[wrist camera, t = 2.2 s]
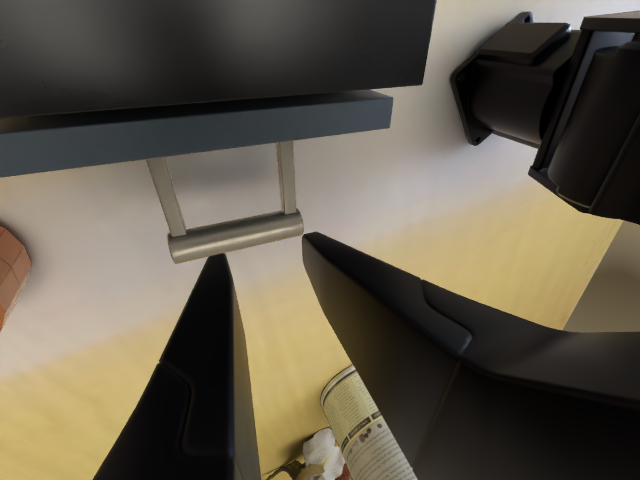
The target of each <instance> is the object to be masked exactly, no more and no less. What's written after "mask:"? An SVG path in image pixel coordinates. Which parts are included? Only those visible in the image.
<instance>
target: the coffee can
mask: <svg viewBox="0 0 640 480" xmlns="http://www.w3.org/2000/svg"><path fill="white" fill-rule="evenodd" d="M320 403H321V406H322V408H323V410H324V412H325V414H326V417H327V419H328V421H329V424H330V426H331V429H332V431H333V434H334V436H335V438H336V441H337V443H338V446H339V448H340V450H341V453H342V455H343V458H344V460H345V462H346V464H347V467H348V469H349V472H350V474H351V477H352V479H353V480H418V479H417V478H416V476H415V474H414V472H413V470H412V469H413V468H411V467H410V465H409V463H408V461H407V459H406V458H405V456H404V454H403V452H402V451H401V449H400V447H399V445H398V444H397V442H396V440H395V438H394V436H393V435H392V433H391V431H390V429H389V428H388V426H387V424H386V422H385V421H384V419H383V417H382V415H381V413H380V412H379V410H378V408H377V406H376V405H375V403H374V401H373V399H372V397H371V396H370V394H369V392H368V390H367V389H366V387H365V385H364V383H363V382H362V380H361V378H360V376H359V374H358V373H357V371H356V369H355V367H354V366H353V365H352V366H350V367H348V368H346V369H345V370H343V371H342V372H340V373H339V374H338V375H337V376H336V377H334V378H333V379H332V380H331V381H330V382H329V384H328V385H327V386H326V388H325V389H324V391H323V393H322V395H321V400H320Z"/></svg>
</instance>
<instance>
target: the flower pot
mask: <svg viewBox="0 0 640 480" xmlns="http://www.w3.org/2000/svg"><path fill="white" fill-rule="evenodd" d="M30 269H31V262H30V260H29V257H28V254H27V252H26V249H25V247H24V245H23V244H22V243H20V242H19V241H18V240H17V239H16V238H15V237H14V236H13V235H12V234H11V233H10V232H9V231H8V230H6V229H5V228H3V227H1V226H0V332H1V330H2V329H3V327H4V325H5V323H6V321H7V319H8V317H9V315H10V313H11V311H12V309H13V307H14V306H15V303H16V302H17V300H18V298H19V296H20V294H21V292H22V290H23V288H24V286H25V284H26V282H27V280H28V276H29V273H30Z"/></svg>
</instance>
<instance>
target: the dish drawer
mask: <svg viewBox="0 0 640 480" xmlns="http://www.w3.org/2000/svg"><path fill="white" fill-rule="evenodd" d="M392 106H393V97H390V96H387V95H384V94H381V93H378V92H375V91H372V90H369V89H368V90H356V91H343V92H330V93H318V94H305V95H293V96H280V97H268V98H255V99H242V100H230V101H217V102H205V103H192V104H179V105H167V106H154V107H142V108H129V109H117V110H104V111H91V112H79V113H66V114H54V115H41V116H29V117H16V118H3V119H0V178H1V177H9V176H16V175H24V174H32V173H40V172H48V171H56V170H64V169H71V168H79V167H87V166H95V165H103V164H111V163H119V162H127V161H134V160H142V159H146V161H147V164H148V167H149V170H150V173H151V176H152V179H153V182H154V185H155V188H156V191H157V194H158V197H159V200H160V203H161V206H162V209H163V212H164V215H165V218H166V221H167V224H168V227H169V230H170V233H168V235H167V239H168V245H169V249H170V253H171V256H172V259H173V261H174V263H175V264H178V263H182V262H186V261H191V260H195V259H200V258H204V257H208V256H211V255H216V254H220V253H226V252H230V251H234V250H239V249H243V248H248V247H252V246H256V245H261V244H265V243H269V242H274V241H278V240H282V239H287V238H291V237H295V236H300V235H302V234H303V231H304V226H303V220H302V216H301V214H300V211H299V210H298V209H297V208H296V193H295V173H294V154H293V140H300V139H308V138H316V137H323V136H331V135H339V134H347V133H355V132H363V131H371V130H379V129H386V128H390V122H391V114H392ZM268 143H276V149H277V161H278V173H279V185H280V197H281V209H282V211H277V212H272V213H267V214H262V215H257V216H252V217H247V218H242V219H237V220H232V221H227V222H222V223H217V224H212V225H207V226H202V227H197V228H192V229H187V230H186V226H185V223H184V220H183V216H182V213H181V210H180V206H179V203H178V199H177V196H176V193H175V189H174V186H173V182H172V179H171V176H170V172H169V169H168V165H167V162H166V159H165V157H166V156H174V155H182V154H190V153H197V152H205V151H213V150H221V149H229V148H237V147H245V146H253V145H260V144H268Z"/></svg>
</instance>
